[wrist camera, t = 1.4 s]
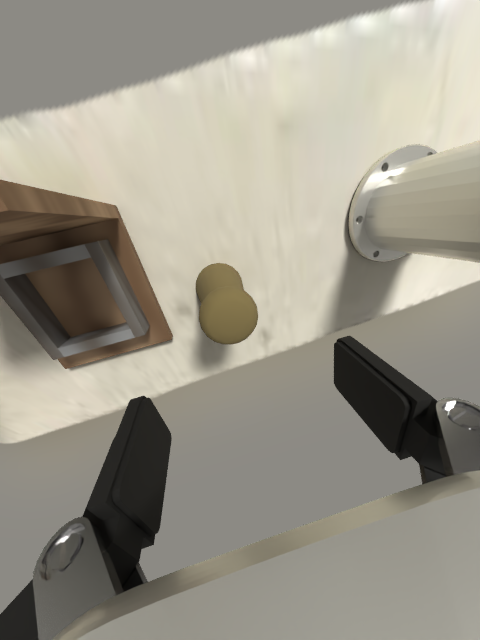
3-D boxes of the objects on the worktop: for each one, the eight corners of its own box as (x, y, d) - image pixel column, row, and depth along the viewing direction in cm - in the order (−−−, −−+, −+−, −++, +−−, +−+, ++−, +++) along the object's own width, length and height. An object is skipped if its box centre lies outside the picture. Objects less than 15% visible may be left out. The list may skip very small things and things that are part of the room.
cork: (242, 306, 28) (266, 351, 18) (198, 310, 27) (197, 359, 17) (242, 261, 25) (269, 285, 15) (193, 264, 24) (188, 291, 14)
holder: (116, 205, 20) (-14, 176, 8) (172, 335, 28) (151, 426, 15) (-28, 238, 20) (-428, 263, 7) (69, 364, 27) (-43, 485, 14)
